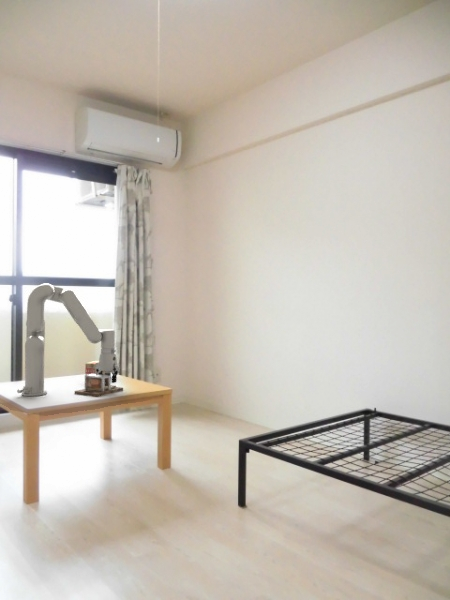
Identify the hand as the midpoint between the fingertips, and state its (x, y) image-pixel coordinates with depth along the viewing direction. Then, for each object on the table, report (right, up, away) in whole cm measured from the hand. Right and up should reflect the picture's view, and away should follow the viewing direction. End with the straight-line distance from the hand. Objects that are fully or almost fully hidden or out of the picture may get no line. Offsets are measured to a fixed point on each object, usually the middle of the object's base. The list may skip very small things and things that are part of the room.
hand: (107, 381), depth 268 cm
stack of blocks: (-14, -5, +32) cm, 35 cm away
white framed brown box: (-2, -3, -4) cm, 5 cm away
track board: (-3, -5, -6) cm, 8 cm away
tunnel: (-4, -3, -7) cm, 9 cm away
